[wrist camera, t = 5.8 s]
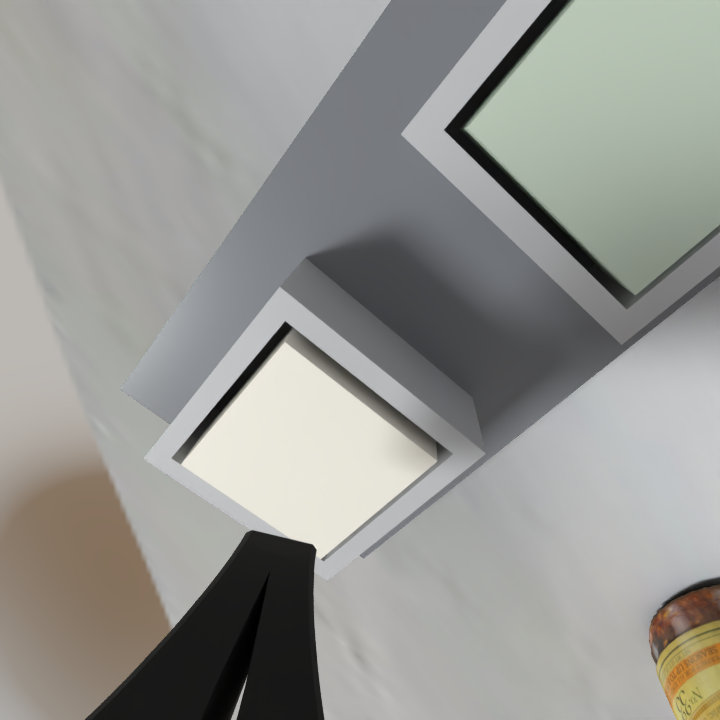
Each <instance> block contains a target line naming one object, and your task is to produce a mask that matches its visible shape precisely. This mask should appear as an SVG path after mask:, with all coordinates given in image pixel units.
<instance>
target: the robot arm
mask: <svg viewBox="0 0 720 720" xmlns="http://www.w3.org/2000/svg"><path fill="white" fill-rule="evenodd" d="M316 552H317V549H316V548H315V547H314V545H313V544H309V543H305V542H301V541H297V540H292V539H288V538H284V537H280V536H276V535H271V534H267V533H263V532H259V531H255V530H251V531H249V532H247V533H246V534H245V536H244V537H243V539H242V541H241V542H240V544H239V545H238V547H237V548H236V550H235V551H234V553H233V554H232V556H231V557H230V559H229V560H228V561H227V563H226V564H225V565H224V567H223V568H222V570H221V571H220V572H219V573H218V575H217V576H216V577H215V579H214V580H213V581H212V582H211V584H210V585H209V586H208V588H207V589H206V590H205V591H204V593H203V594H202V595H201V596H200V597H199V598H198V600H197V601H196V602H195V603H194V604H193V606H192V607H191V608H190V609H189V610H188V612H187V613H186V614H185V615H184V616H183V618H182V619H181V620H180V621H179V622H178V623H177V625H176V626H175V627H174V628H173V629H172V630H171V632H170V633H169V634H168V635H167V636H166V637H165V638H164V639H163V640H162V641H161V642H160V643H159V644H158V646H157V647H156V648H155V649H154V650H153V651H152V652H151V653H150V654H149V655H148V656H147V657H146V658H145V660H144V661H143V662H142V663H141V664H140V665H139V666H138V667H137V668H136V669H135V670H134V671H133V672H132V673H131V675H130V676H129V677H128V678H127V679H126V680H125V681H124V682H123V683H122V684H121V685H120V686H119V687H118V688H117V689H116V690H115V691H114V692H113V693H112V694H111V695H110V696H109V697H108V698H107V699H106V700H105V701H104V702H103V703H102V704H101V705H100V706H99V707H98V708H97V709H96V710H95V711H94V712H93V713H91V714H90V715H89V716H88V717H87V718H86V719H85V720H231V717H232V715H233V712H234V710H235V707H236V704H237V702H238V699H239V696H240V694H241V691H242V688H243V686H244V683H245V681H246V678H247V681H246V686H245V690H244V693H243V697H242V701H241V705H240V709H239V713H238V717H237V720H324V714H323V707H322V699H321V692H320V683H319V675H318V665H317V653H316V641H315V628H314V597H313V589H314V567H315V558H316ZM247 675H248V676H247Z"/></svg>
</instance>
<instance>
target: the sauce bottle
mask: <svg viewBox="0 0 720 720" xmlns="http://www.w3.org/2000/svg"><path fill="white" fill-rule="evenodd" d="M649 643H650V646H651V654H652V657H653V659H654V661H655V663H656V665H657V667H656V671H657V675H658V678H659V680H660V682H661V685H662V687H663V689H664V692H665V694H666V696H667V699H668V701H669V703H670V705H671V708H672V710H673V712H674V715H675V717H676V719H677V720H720V584H719V585H714V586H711V587H704V588H702V589H699V590H696V591H692V592H689V593H687V594H685V595H683V596H680V597H678V598H676V599H674V600H672V601H670V602H669V603H668V604H667V605H666V606H665V607H664V608H661V609H660V610H659V611H658V614H656V615H655V616H654V617H653V619H652V621H651V625H650V629H649Z"/></svg>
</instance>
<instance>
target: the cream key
mask: <svg viewBox="0 0 720 720" xmlns="http://www.w3.org/2000/svg"><path fill="white" fill-rule="evenodd" d="M437 461H438V459H437V448H436V440H435V439H434V438H432V437H431V436H430V435H428V434H427V433H426V432H425V431H423V430H422V429H421V428H420V427H418V426H417V425H416V424H415V423H413V422H412V421H411V420H410V419H408V418H407V417H406V416H405V415H403V414H402V413H401V412H399V411H398V410H397V409H396V408H394V407H393V406H392V405H391V404H389V403H388V402H387V401H386V400H384V399H383V398H382V397H381V396H379V395H378V394H377V393H375V392H374V391H373V390H372V389H370V388H369V387H368V386H367V385H365V384H364V383H363V382H362V381H360V380H359V379H358V378H357V377H355V376H354V375H353V374H352V373H350V372H349V371H348V370H346V369H345V368H344V367H343V366H341V365H340V364H339V363H338V362H336V361H335V360H334V359H333V358H331V357H330V356H329V355H328V354H326V353H325V352H324V351H322V350H321V349H320V348H319V347H317V346H316V345H315V344H314V343H312V342H311V341H310V340H309V339H307V338H306V337H305V336H304V335H302V334H301V333H300V332H298V331H297V330H296V329H295V328H293V327H292V328H291V329H290V330H289V331H288V333H287V334H286V335H285V336H284V337H283V339H282V340H281V341H280V342H279V343H278V345H277V346H276V347H275V348H274V349H273V350H272V352H271V353H270V354H269V355H268V356H267V358H266V359H265V360H264V361H263V362H262V363H261V365H260V366H259V367H258V368H257V369H256V371H255V372H254V373H253V374H252V375H251V377H250V378H249V379H248V380H247V381H246V382H245V384H244V385H243V386H242V387H241V388H240V390H239V391H238V392H237V393H236V394H235V395H234V397H233V398H232V399H231V400H230V401H229V403H228V404H227V405H226V406H225V407H224V409H223V410H222V411H221V412H220V413H219V414H218V416H217V417H216V418H215V419H214V420H213V422H212V423H211V424H210V425H209V426H208V427H207V429H206V430H205V431H204V432H203V434H202V435H201V436H200V438H199V439H198V441H197V442H196V444H195V445H194V446H193V448H192V449H191V451H190V452H189V454H188V455H187V456H186V458H185V459H184V461H183V462H182V464H181V465H182V466H184V467H185V468H187V469H188V470H189V471H191V472H192V473H194V474H195V475H197V476H198V477H200V478H201V479H203V480H204V481H206V482H207V483H209V484H210V485H212V486H213V487H215V488H216V489H218V490H219V491H221V492H222V493H223V494H225V495H226V496H228V497H229V498H231V499H232V500H234V501H235V502H237V503H238V504H240V505H241V506H243V507H244V508H246V509H247V510H249V511H250V512H252V513H253V514H255V515H256V516H258V517H259V518H260V519H262V520H263V521H265V522H266V523H268V524H269V525H271V526H272V527H274V528H275V529H277V530H278V531H280V532H281V533H283V534H284V535H286V536H287V537H289V538H290V539H292V540H297V541H301V542H305V543H309V544H313V545H314V547H315V548H316V549H317V552H316V556H317V557H318V558H320V559H322V558H323V557H324V556H325V555H326V554H328V553H329V552H330V551H331V550H332V549H334V548H335V547H336V546H337V545H338V544H340V543H341V542H342V541H343V540H344V539H346V538H347V537H348V536H349V535H350V534H351V533H353V532H354V531H355V530H356V529H357V528H359V527H360V526H361V525H362V524H363V523H365V522H366V521H367V520H368V519H369V518H371V517H372V516H373V515H374V514H375V513H377V512H378V511H379V510H380V509H381V508H383V507H384V506H385V505H386V504H387V503H388V502H390V501H391V500H392V499H393V498H394V497H396V496H397V495H398V494H399V493H400V492H402V491H403V490H404V489H405V488H406V487H408V486H409V485H410V484H411V483H412V482H414V481H415V480H416V479H417V478H418V477H420V476H421V475H422V474H423V473H424V472H425V471H427V470H428V469H429V468H430V467H431V466H433V465H434V464H435V463H436V462H437Z"/></svg>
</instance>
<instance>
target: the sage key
mask: <svg viewBox="0 0 720 720" xmlns="http://www.w3.org/2000/svg"><path fill="white" fill-rule="evenodd" d="M460 130H461V131H462V132H463V133H464V134H465V135H466V136H467V137H468V138H469V139H470V140H471V141H472V142H473V143H474V144H475V145H476V146H477V147H478V148H479V149H480V150H481V151H482V152H483V153H484V154H485V155H486V156H487V157H488V158H489V159H490V160H491V161H492V162H493V163H494V164H495V165H496V166H497V167H498V168H499V169H500V170H501V171H502V172H503V173H504V174H505V175H506V176H507V177H508V178H509V179H510V180H511V181H512V182H513V183H514V184H515V185H516V186H517V187H518V188H519V189H521V190H522V191H523V192H524V193H525V194H526V195H527V196H528V197H529V198H530V199H531V200H532V201H533V202H534V203H535V204H536V205H537V206H538V207H539V208H540V209H541V210H542V211H543V212H544V213H545V214H546V215H547V216H548V217H549V218H550V219H551V220H552V221H553V222H554V223H555V224H556V225H557V226H558V227H559V228H560V229H561V230H562V231H563V232H564V233H565V234H566V235H567V236H568V237H569V238H570V239H571V240H572V241H573V242H574V243H575V244H576V245H577V246H578V247H579V248H580V249H581V250H582V251H583V252H584V253H585V254H586V255H587V256H588V257H589V258H590V259H591V260H592V261H593V262H594V263H595V264H596V265H597V266H598V267H599V268H600V269H601V270H602V271H603V272H604V273H605V274H606V275H607V276H609V277H610V278H612V279H613V280H614V281H616V282H617V283H619V284H620V285H621V286H623V287H624V288H626V289H627V290H629V291H630V292H631V293H633V294H634V295H637V294H638V293H639V292H640V291H641V290H643V289H644V288H645V287H646V286H647V285H649V284H650V283H651V282H652V281H653V280H655V279H656V278H657V277H658V276H659V275H660V274H662V273H663V272H664V271H665V270H666V269H668V268H669V267H670V266H671V265H672V264H674V263H675V262H676V261H677V260H678V259H680V258H681V257H682V256H683V255H684V254H686V253H687V252H688V251H689V250H690V249H692V248H693V247H694V246H695V245H696V244H697V243H699V242H700V241H701V240H702V239H703V238H705V237H706V236H707V235H708V234H709V233H711V232H712V231H713V230H714V229H715V228H717V227H718V226H719V225H720V0H568V1H567V2H566V3H565V4H564V6H563V7H562V8H561V9H560V10H559V11H558V13H557V14H556V15H555V16H554V17H553V19H552V20H551V21H550V22H549V23H548V25H547V26H546V27H545V28H544V29H543V30H542V32H541V33H540V34H539V35H538V36H537V38H536V39H535V40H534V41H533V42H532V43H531V45H530V46H529V47H528V48H527V49H526V51H525V52H524V53H523V54H522V55H521V57H520V58H519V59H518V60H517V61H516V62H515V64H514V65H513V66H512V67H511V68H510V70H509V71H508V72H507V73H506V74H505V75H504V77H503V78H502V79H501V80H500V81H499V83H498V84H497V85H496V86H495V87H494V89H493V90H492V91H491V92H490V93H489V94H488V96H487V97H486V98H485V99H484V100H483V102H482V103H481V104H480V105H479V106H478V107H477V109H476V110H475V111H474V112H473V113H472V115H471V116H470V117H469V118H468V119H467V121H466V122H465V123H464V124H463V125H462V126H461V128H460Z"/></svg>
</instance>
